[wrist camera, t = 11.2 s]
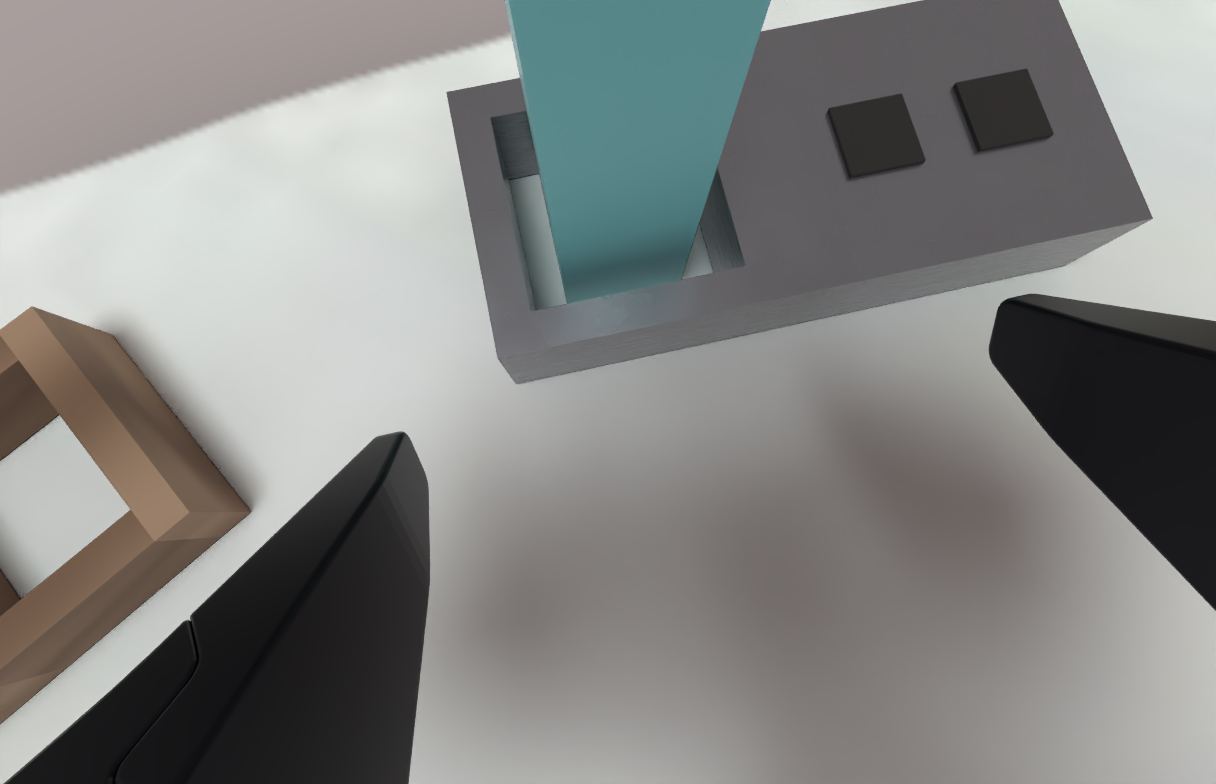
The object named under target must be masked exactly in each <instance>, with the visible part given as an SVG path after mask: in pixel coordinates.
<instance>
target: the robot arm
mask: <svg viewBox="0 0 1216 784" xmlns="http://www.w3.org/2000/svg"><path fill="white" fill-rule="evenodd" d="M989 355H990V359H991V361H992V363H993V365H994V366H995V367H996V369H997V370H998V371H999V372H1000V374H1001V375H1002V376H1003V378H1004V379H1005V380H1006V381H1007V383H1008V384H1009V385H1010V387H1011V388H1012V389H1013V390H1014V392H1015V393H1016V394H1017V396H1018V397H1019V398H1020V399H1021V401H1022V402H1023V403H1024V405H1025V406H1026V407H1027V408H1028V410H1029V411H1030V412H1031V414H1032V415H1033V416H1034V417H1035V419H1036V420H1037V421H1038V423H1039V424H1040V425H1041V426H1042V428H1043V429H1044V430H1045V431H1046V433H1047V434H1048V435H1049V436H1050V437H1051V439H1052V440H1053V441H1054V442H1055V443H1056V444H1057V445H1058V446H1059V447H1060V448H1061V449H1062V451H1063V452H1064V453H1065V454H1066V455H1067V456H1068V457H1069V458H1070V459H1071V460H1072V461H1073V462H1074V463H1075V464H1076V465H1077V466H1078V467H1079V468H1080V469H1081V470H1082V471H1083V473H1084V474H1085V475H1086V476H1087V477H1088V478H1089V479H1090V480H1091V481H1092V482H1093V483H1094V484H1095V485H1096V486H1097V487H1098V488H1099V489H1100V490H1101V491H1102V492H1103V493H1104V494H1105V496H1106V497H1107V498H1108V499H1109V500H1110V501H1111V502H1112V503H1113V504H1114V505H1115V506H1116V507H1117V508H1118V509H1119V510H1120V511H1121V512H1122V513H1123V514H1124V515H1125V516H1126V517H1127V519H1128V520H1129V521H1130V522H1131V523H1132V524H1133V525H1134V526H1135V527H1136V528H1137V529H1138V530H1139V531H1140V532H1141V533H1142V534H1143V535H1144V536H1145V537H1146V538H1147V539H1148V540H1149V542H1150V543H1151V544H1152V545H1153V546H1154V547H1155V548H1156V549H1157V550H1158V551H1159V552H1160V553H1161V554H1162V555H1163V556H1164V557H1165V558H1166V559H1167V560H1168V561H1169V562H1170V563H1171V565H1172V566H1173V567H1174V568H1175V569H1176V570H1177V571H1178V572H1179V573H1180V574H1181V575H1182V576H1183V577H1184V578H1185V579H1186V580H1187V581H1188V582H1189V583H1190V584H1191V585H1192V586H1193V588H1194V589H1195V590H1196V591H1197V592H1198V593H1199V594H1200V595H1201V596H1202V597H1203V598H1204V599H1205V600H1206V601H1207V602H1208V603H1209V604H1210V605H1211V606H1212V607H1213V608H1214V610H1215V611H1216V321H1211V320H1204V319H1197V318H1191V317H1184V316H1178V315H1171V314H1165V313H1158V312H1151V311H1145V310H1138V309H1132V308H1125V307H1119V306H1112V305H1105V304H1099V303H1092V302H1086V301H1079V300H1072V299H1066V298H1059V297H1053V296H1046V295H1040V294H1027V295H1022V296H1018V297H1013V298H1009V299H1006V300H1005V301H1003V302H1002V303H1001V304H1000V306H999V307H998V310H997V314H996V318H995V323H994V327H993V331H992V335H991V340H990V344H989ZM429 585H430V539H429V489H428V482H427V477H426V474H425V472H424V469H423V467H422V465H421V462H420V460H419V458H418V455H417V453H416V451H415V449H414V446H413V444H412V442H411V440H410V438H409V436H408V435H407V434H406V433H405V432H395V433H391V434H386V435H381V436H378V437H376V438H374V439H373V440H372V441H371V442H370V443H369V444H368V445H367V446H366V447H365V448H364V449H363V450H362V451H361V452H360V453H359V454H358V455H357V456H355V457H354V458H353V459H352V460H351V461H350V462H349V463H348V464H347V465H346V466H345V467H344V468H343V469H342V470H341V471H340V472H339V473H338V474H337V475H336V476H335V477H334V478H333V479H332V480H331V481H330V482H328V483H327V484H326V485H325V486H324V487H323V488H322V489H321V490H320V491H319V492H318V493H317V494H316V495H315V496H314V497H313V498H312V499H311V500H310V501H309V502H308V503H307V504H306V505H305V506H304V507H303V508H301V509H300V510H299V511H298V512H297V513H296V514H295V515H294V516H293V517H292V518H291V519H290V520H289V521H288V522H287V523H286V524H285V525H284V526H283V527H282V528H281V529H280V530H279V531H278V532H277V533H275V534H274V535H273V536H272V537H271V538H270V539H269V540H268V541H267V542H266V543H265V544H264V545H263V546H262V547H261V548H260V549H259V550H258V551H257V552H256V553H255V554H254V555H253V556H252V557H251V558H249V559H248V560H247V561H246V562H245V563H244V564H243V565H242V566H241V567H240V568H239V569H238V570H237V571H236V572H235V573H234V574H233V575H232V576H231V577H230V578H229V579H228V580H227V581H226V582H225V583H224V584H222V585H221V586H220V587H219V588H218V589H217V590H216V591H215V592H214V593H213V594H212V595H211V596H210V597H209V598H208V599H207V600H206V601H205V602H204V603H203V604H202V605H201V606H200V607H199V608H198V609H196V610H195V611H194V612H193V613H192V615H191V616H190V620H191V621H190V620H186V621H184V622H183V623H182V624H181V625H180V626H179V627H178V628H177V629H176V630H175V631H174V632H172V633H171V634H170V635H169V636H168V637H167V638H166V639H165V640H164V641H163V642H162V643H161V644H160V645H159V646H158V647H157V648H156V649H155V650H154V651H153V652H152V653H151V654H149V655H148V656H147V657H146V658H145V659H144V660H143V661H142V662H141V663H140V664H139V665H138V666H137V667H136V668H134V669H133V670H132V671H131V672H130V673H129V674H128V675H127V676H126V677H125V678H124V679H123V680H122V681H121V682H119V683H118V684H117V685H116V686H115V687H114V688H113V689H112V690H111V691H110V692H108V693H107V694H106V695H105V696H104V697H103V698H102V699H100V700H99V701H98V702H97V703H96V704H95V705H94V706H93V707H91V708H90V709H89V710H88V711H87V712H86V713H85V714H83V715H82V716H81V717H80V718H79V719H78V720H77V721H75V722H74V723H73V724H72V725H71V726H70V727H69V728H68V729H66V730H65V731H64V732H63V733H62V734H61V735H60V736H58V737H57V738H56V739H55V740H54V741H53V742H51V743H50V744H49V745H48V746H47V747H46V748H44V749H43V750H42V751H41V752H40V753H39V754H38V755H36V756H35V757H34V758H33V759H32V760H31V761H29V762H28V763H27V764H26V765H25V766H24V767H22V768H21V769H20V770H19V771H18V772H17V773H15V774H14V775H13V776H12V777H11V778H10V779H9V780H7V781H6V782H5V783H4V784H408V782H409V773H410V764H411V755H412V745H413V736H414V727H415V718H416V708H417V699H418V690H419V681H420V671H421V662H422V653H423V644H424V634H425V625H426V616H427V606H428V597H429Z"/></svg>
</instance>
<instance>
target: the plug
mask: <svg viewBox="0 0 1216 784" xmlns="http://www.w3.org/2000/svg"><path fill="white" fill-rule="evenodd" d="M504 1H505V6H506V11H507V16H508V21H509V25H510V31H511V36H512V41H513V46H514V51H515V55H516V60H517V65H518V70H519V75H520V80H521V85H522V90H523V95H524V100H525V105H526V110H527V115H528V120H529V125H530V130H531V135H532V140H533V145H534V150H535V155H536V160H537V165H538V170H539V175H540V180H541V185H542V190H543V195H544V200H545V204H546V209H547V214H548V218H549V223H550V227H551V232H552V237H553V241H554V246H555V250H556V255H557V260H558V264H559V269H560V273H561V278H562V283H563V287H564V292H565V296H566V301H567V304H569V303H574V302H579V301H583V300H588V299H593V298H598V297H602V296H607V295H612V294H617V293H621V292H626V291H631V290H636V289H640V288H645V287H650V286H655V285H659V284H664V283H669V282H674V281H678V280H681V278H682V275H683V272H684V268H685V265H686V262H687V259H688V256H689V253H690V250H691V247H692V244H693V240H694V237H695V234H696V231H697V228H698V225H699V222H700V219H701V216H702V212H703V209H704V206H705V203H706V200H707V197H708V194H709V191H710V188H711V184H712V181H713V178H714V175H715V172H716V169H717V166H718V163H719V160H720V156H721V153H722V150H723V147H724V144H725V141H726V138H727V135H728V132H729V128H730V125H731V122H732V119H733V116H734V113H735V110H736V107H737V104H738V100H739V97H740V94H741V91H742V88H743V85H744V82H745V79H746V76H747V72H748V69H749V66H750V63H751V60H752V57H753V54H754V51H755V48H756V44H757V41H758V38H759V35H760V32H761V29H762V26H763V23H764V20H765V16H766V13H767V10H768V7H769V4H770V1H771V0H504Z"/></svg>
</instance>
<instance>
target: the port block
mask: <svg viewBox="0 0 1216 784" xmlns="http://www.w3.org/2000/svg"><path fill="white" fill-rule="evenodd" d="M447 97H448V102H449V108H450V113H451V118H452V123H453V128H454V134H455V139H456V144H457V149H458V154H459V160H460V165H461V170H462V175H463V180H464V186H465V191H466V196H467V201H468V206H469V212H470V217H471V222H472V227H473V232H474V238H475V243H476V248H477V253H478V258H479V264H480V269H481V274H482V279H483V284H484V290H485V295H486V300H487V305H488V310H489V316H490V321H491V326H492V331H493V336H494V342H495V347H496V352H497V357H498V360H499V361H500V362H501V364H502V365H503V367H504V368H505V369H506V371H507V372H508V373H509V375H510V376H511V378H512V379H513V380H514V382H515V383H516V384H519V383H524V382H529V381H533V380H538V379H543V378H547V377H552V376H556V375H561V374H566V373H570V372H575V371H580V370H584V369H589V368H594V367H598V366H603V365H607V364H612V363H617V362H621V361H626V360H631V359H635V358H640V357H645V356H649V355H654V354H658V353H663V352H668V351H672V350H677V349H682V348H686V347H691V346H696V345H700V344H705V343H709V342H714V341H719V340H723V339H728V338H733V337H737V336H742V335H747V334H751V333H756V332H760V331H765V330H770V329H774V328H779V327H784V326H788V325H793V324H797V323H802V322H807V321H811V320H816V319H821V318H825V317H830V316H835V315H839V314H844V313H848V312H853V311H858V310H862V309H867V308H872V307H876V306H881V305H886V304H890V303H895V302H899V301H904V300H909V299H913V298H918V297H923V296H927V295H932V294H937V293H941V292H946V291H950V290H955V289H960V288H964V287H969V286H974V285H978V284H983V283H988V282H992V281H997V280H1001V279H1006V278H1011V277H1015V276H1020V275H1025V274H1029V273H1034V272H1039V271H1043V270H1048V269H1052V268H1057V267H1062V266H1065V265H1067V264H1069V263H1071V262H1073V261H1074V260H1076V259H1078V258H1080V257H1082V256H1084V255H1086V254H1088V253H1089V252H1091V251H1093V250H1095V249H1097V248H1099V247H1101V246H1103V245H1105V244H1106V243H1108V242H1110V241H1112V240H1114V239H1116V238H1118V237H1120V236H1121V235H1123V234H1125V233H1127V232H1129V231H1131V230H1133V229H1135V228H1136V227H1138V226H1140V225H1142V224H1144V223H1146V222H1148V221H1150V220H1151V219H1153V218H1152V215H1151V213H1150V211H1149V208H1148V206H1147V204H1146V201H1145V199H1144V197H1143V194H1142V192H1141V190H1140V188H1139V185H1138V183H1137V181H1136V178H1135V176H1134V174H1133V171H1132V169H1131V167H1130V164H1129V162H1128V160H1127V157H1126V155H1125V153H1124V151H1123V148H1122V146H1121V144H1120V141H1119V139H1118V137H1117V134H1116V132H1115V130H1114V127H1113V125H1112V123H1111V121H1110V118H1109V116H1108V114H1107V111H1106V109H1105V107H1104V104H1103V102H1102V100H1101V97H1100V95H1099V93H1098V91H1097V88H1096V86H1095V84H1094V81H1093V79H1092V77H1091V74H1090V72H1089V70H1088V67H1087V65H1086V63H1085V61H1084V58H1083V56H1082V54H1081V51H1080V49H1079V47H1078V44H1077V42H1076V40H1075V37H1074V35H1073V33H1072V30H1071V28H1070V26H1069V24H1068V21H1067V19H1066V17H1065V14H1064V12H1063V10H1062V7H1061V5H1060V3H1059V0H923V1H917V2H912V3H907V4H902V5H897V6H891V7H886V8H881V9H876V10H871V11H865V12H860V13H855V14H850V15H845V16H839V17H834V18H829V19H824V20H819V21H813V22H808V23H803V24H798V25H793V26H787V27H782V28H777V29H772V30H767V31H762V32H760V35H759V38H758V41H757V44H756V48H755V51H754V54H753V57H752V60H751V63H750V66H749V69H748V72H747V76H746V79H745V82H744V85H743V88H742V91H741V94H740V97H739V100H738V104H737V107H736V110H735V113H734V116H733V119H732V122H731V125H730V128H729V132H728V135H727V138H726V141H725V144H724V147H723V150H722V153H721V156H720V160H719V163H718V166H717V169H716V172H715V175H714V178H713V181H712V184H711V188H710V191H709V194H708V197H707V200H706V203H705V206H704V209H703V212H702V216H701V219H700V225H701V229H702V232H703V236H704V240H705V243H706V247H707V251H708V254H709V258H710V262H711V265H712V269H713V273H712V274H707V275H702V276H697V277H693V278H688V279H683V280H678V281H674V282H669V283H664V284H659V285H655V286H650V287H645V288H640V289H636V290H631V291H626V292H621V293H617V294H612V295H607V296H602V297H598V298H593V299H588V300H583V301H579V302H574V303H569V304H564V305H560V306H555V307H550V308H545V309H541V310H536V309H535V304H534V299H533V294H532V289H531V285H530V280H529V275H528V270H527V265H526V261H525V256H524V251H523V246H522V241H521V237H520V232H519V227H518V222H517V217H516V213H515V208H514V203H513V198H512V193H511V189H510V184H509V179H514V178H519V177H524V176H529V175H534V174H539V170H538V165H537V160H536V155H535V150H534V145H533V140H532V135H531V130H530V125H529V120H528V115H527V110H526V105H525V100H524V95H523V90H522V85H521V80H520V78H517V79H512V80H507V81H502V82H497V83H491V84H486V85H481V86H476V87H471V88H466V89H460V90H455V91H450V92H447Z"/></svg>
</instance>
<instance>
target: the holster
mask: <svg viewBox="0 0 1216 784" xmlns="http://www.w3.org/2000/svg"><path fill="white" fill-rule="evenodd" d="M58 415H60V416H61V417H62V419H63V420H64V421H65V423H66V424H67V425H68V427H69V428H70V429H71V431H72V432H73V433H74V435H75V436H76V437H77V439H78V440H79V441H80V443H81V444H82V445H83V447H84V448H85V449H86V451H87V452H88V453H89V455H90V456H91V457H92V459H93V460H94V461H95V463H96V464H97V465H98V467H99V468H100V469H101V471H102V472H103V473H104V475H105V476H106V477H107V479H108V480H109V481H110V483H111V484H112V485H113V487H114V488H115V489H116V491H117V492H118V493H119V495H120V496H121V497H122V499H123V500H124V501H125V503H126V504H127V505H128V507H129V508H130V509H131V510H130V511H129V512H127V513H126V514H125V515H124V516H123V517H121V518H120V519H119V520H118V521H116V522H115V523H114V524H113V525H112V526H110V527H109V528H108V529H107V530H105V531H104V532H103V533H102V534H101V535H99V536H98V537H97V538H96V539H94V540H93V541H92V542H91V543H89V544H88V545H87V546H86V547H85V548H83V549H82V550H81V551H80V552H78V553H77V554H76V555H75V556H74V557H72V558H71V559H70V560H69V561H67V562H66V563H65V564H64V565H63V566H61V567H60V568H59V569H58V570H56V571H55V572H54V573H53V574H52V575H50V576H49V577H48V578H47V579H45V580H44V581H43V582H42V583H41V584H39V585H38V586H37V587H36V588H34V589H33V590H32V591H31V592H30V593H28V594H27V595H26V596H25V597H23V598H22V599H21V600H20V598H19V597H18V595H17V594H16V593H15V591H14V590H13V588H12V587H11V585H10V584H9V582H8V581H7V580H6V578H5V577H4V575H3V574H2V572H1V571H0V724H1V723H2V722H3V721H4V720H5V719H7V718H8V717H9V716H10V715H11V714H13V713H14V712H15V711H16V710H17V709H18V708H20V707H21V706H22V705H23V704H24V703H26V702H27V701H28V700H29V699H30V698H31V697H33V696H34V695H35V694H36V693H37V692H39V691H40V690H41V689H42V688H43V687H45V686H46V685H47V684H48V683H49V682H50V681H52V680H53V679H54V678H55V677H56V676H58V675H59V674H60V673H61V672H62V671H63V670H65V669H66V668H67V667H68V666H69V665H71V664H72V663H73V662H74V661H75V660H76V659H78V658H79V657H80V656H81V655H82V654H84V653H85V652H86V651H87V650H88V649H90V648H91V647H92V646H93V645H94V644H95V643H97V642H98V641H99V640H100V639H101V638H103V637H104V636H105V635H106V634H107V633H108V632H110V631H111V630H112V629H113V628H114V627H116V626H117V625H118V624H119V623H120V622H121V621H123V620H124V619H125V618H126V617H127V616H129V615H130V614H131V613H132V612H133V611H134V610H136V609H137V608H138V607H139V606H140V605H142V604H143V603H144V602H145V601H146V600H148V599H149V598H150V597H151V596H152V595H153V594H155V593H156V592H157V591H158V590H159V589H161V588H162V587H163V586H164V585H165V584H166V583H168V582H169V581H170V580H171V579H172V578H174V577H175V576H176V575H177V574H178V573H179V572H181V571H182V570H183V569H184V568H185V567H187V566H188V565H189V564H190V563H191V562H192V561H194V560H195V559H196V558H197V557H198V556H200V555H201V554H202V553H203V552H204V551H206V550H207V549H208V548H209V547H210V546H211V545H213V544H214V543H215V542H216V541H217V540H219V539H220V538H221V537H222V536H223V535H224V534H226V533H227V532H228V531H229V530H230V529H232V528H233V527H234V526H235V525H236V524H237V523H239V522H240V521H241V520H242V519H243V518H245V517H246V516H247V515H248V514H249V513H251V511H250V510H249V509H248V507H247V506H246V505H245V504H244V502H243V501H242V500H241V498H240V497H239V496H238V495H237V493H236V492H235V491H234V490H233V488H232V487H231V486H230V484H229V483H228V482H227V481H226V479H225V478H224V477H223V476H222V474H221V473H220V472H219V470H218V469H217V468H216V467H215V465H214V464H213V463H212V462H211V460H210V459H209V458H208V456H207V455H206V454H205V453H204V451H203V450H202V449H201V448H200V446H199V445H198V444H197V442H196V441H195V440H194V439H193V437H192V436H191V435H190V434H189V432H188V431H187V430H186V428H185V427H184V426H183V425H182V423H181V422H180V421H179V420H178V418H177V417H176V416H175V415H174V413H173V412H172V411H171V409H170V408H169V407H168V406H167V404H166V403H165V402H164V401H163V399H162V398H161V397H160V395H159V394H158V393H157V392H156V390H155V389H154V388H153V387H152V385H151V384H150V383H149V381H148V380H147V379H146V378H145V376H144V375H143V374H142V373H141V371H140V370H139V369H138V367H137V366H136V365H135V364H134V362H133V361H132V360H131V359H130V357H129V356H128V355H127V353H126V352H125V351H124V350H123V348H122V347H121V346H120V345H119V343H118V342H117V341H116V339H115V338H114V337H113V336H112V335H111V334H108V333H106V332H103V331H100V330H97V329H94V328H92V327H89V326H86V325H83V324H80V323H77V322H75V321H72V320H69V319H66V318H63V317H60V316H58V315H55V314H52V313H49V312H46V311H43V310H41V309H38V308H35V307H32V306H31V307H30V308H29V309H27V310H26V311H25V312H23V313H22V314H21V315H19V316H18V317H17V318H15V319H14V320H13V321H11V322H10V323H9V324H7V325H6V326H5V327H3V328H2V329H1V330H0V460H1V459H2V458H4V457H5V456H6V455H7V454H9V453H10V452H11V451H13V450H14V449H15V448H16V447H18V446H19V445H20V444H22V443H23V442H24V441H25V440H27V439H28V438H29V437H31V436H32V435H33V434H34V433H36V432H37V431H38V430H40V429H41V428H42V427H43V426H45V425H46V424H47V423H49V422H50V421H51V420H52V419H54V418H55V417H56V416H58Z"/></svg>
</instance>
